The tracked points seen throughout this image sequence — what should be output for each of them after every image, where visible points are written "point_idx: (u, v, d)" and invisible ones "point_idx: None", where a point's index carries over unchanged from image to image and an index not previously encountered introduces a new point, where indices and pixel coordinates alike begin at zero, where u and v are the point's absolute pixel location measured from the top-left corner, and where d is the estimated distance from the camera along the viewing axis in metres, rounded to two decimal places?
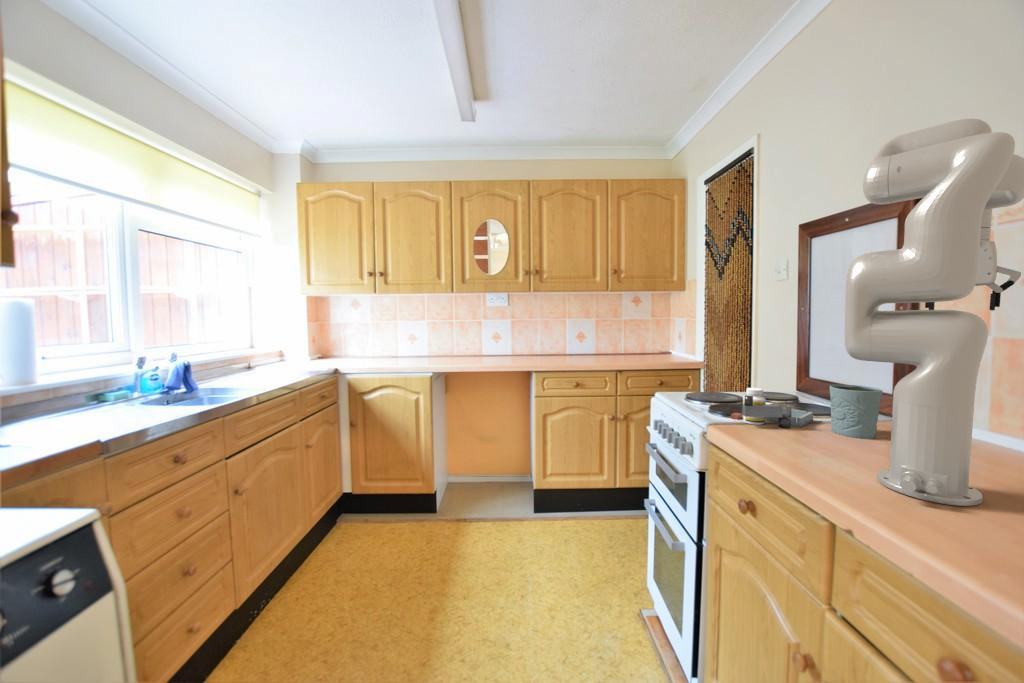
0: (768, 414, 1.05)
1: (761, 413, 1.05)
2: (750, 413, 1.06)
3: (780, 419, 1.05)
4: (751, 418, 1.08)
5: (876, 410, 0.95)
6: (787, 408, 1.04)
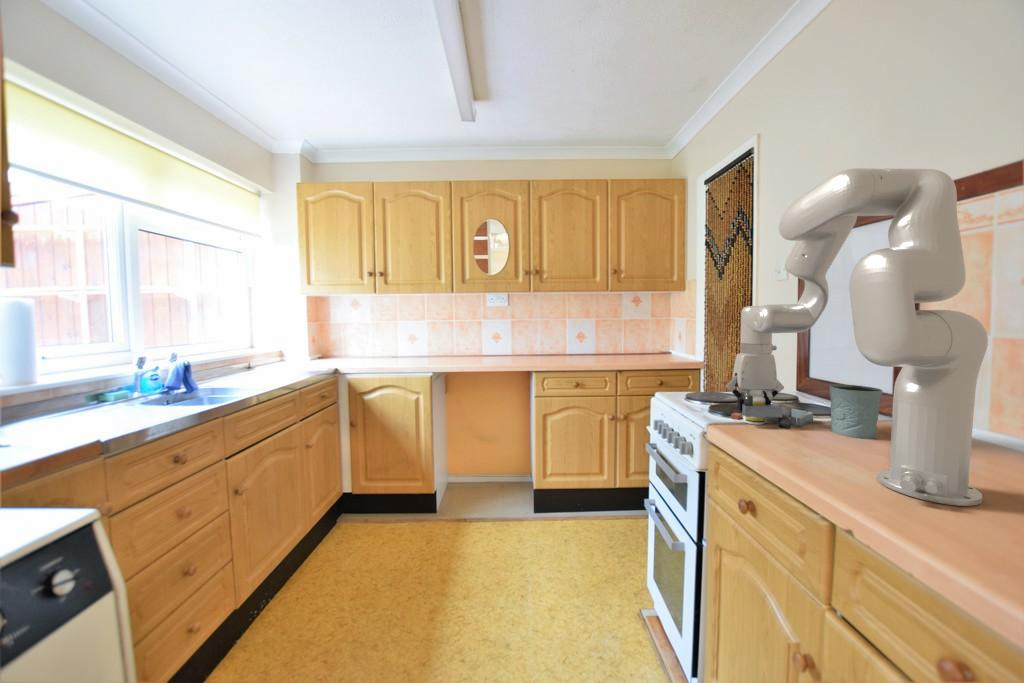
0: (768, 414, 1.05)
1: (761, 413, 1.05)
2: (750, 413, 1.06)
3: (780, 419, 1.05)
4: (751, 418, 1.08)
5: (876, 410, 0.95)
6: (787, 408, 1.04)
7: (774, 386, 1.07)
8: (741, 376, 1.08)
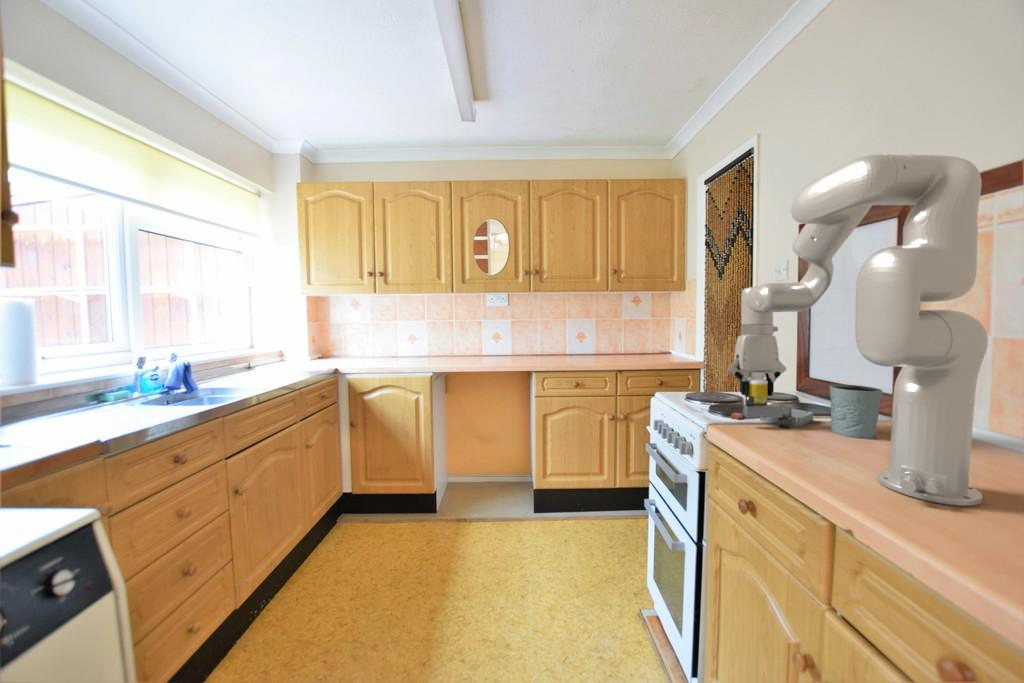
0: (769, 414, 1.05)
1: (762, 413, 1.05)
2: (751, 414, 1.05)
3: (780, 419, 1.05)
4: (754, 401, 1.07)
5: (876, 410, 0.95)
6: (787, 408, 1.04)
7: (776, 367, 1.06)
8: (743, 357, 1.07)
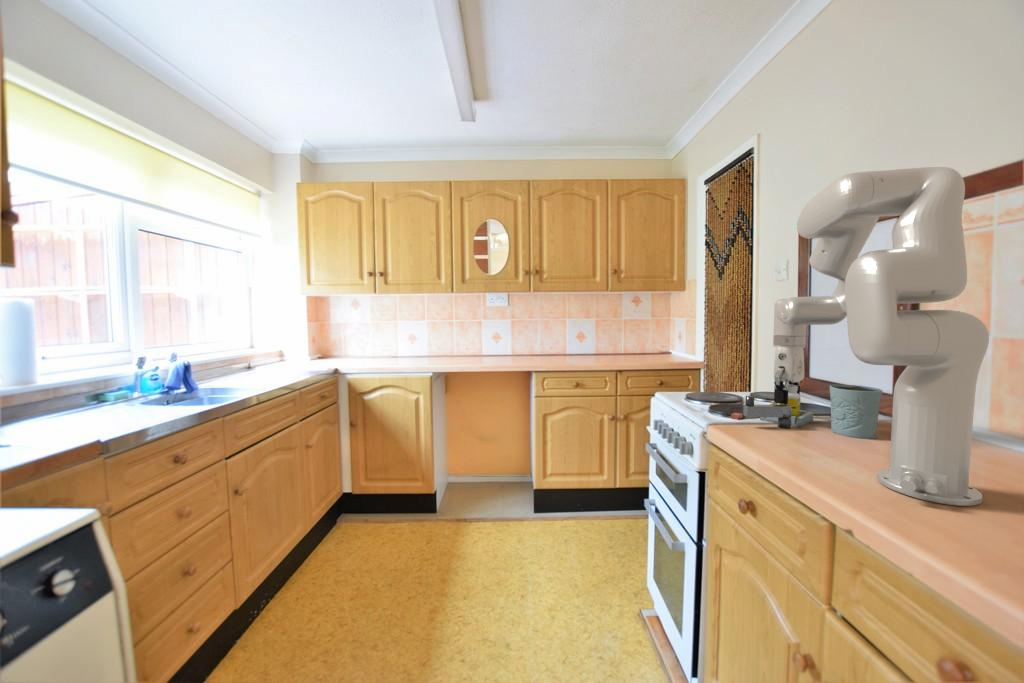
0: (769, 414, 1.05)
1: (762, 413, 1.05)
2: (751, 414, 1.05)
3: (780, 419, 1.05)
4: None
5: (876, 410, 0.95)
6: (787, 408, 1.04)
7: None
8: None
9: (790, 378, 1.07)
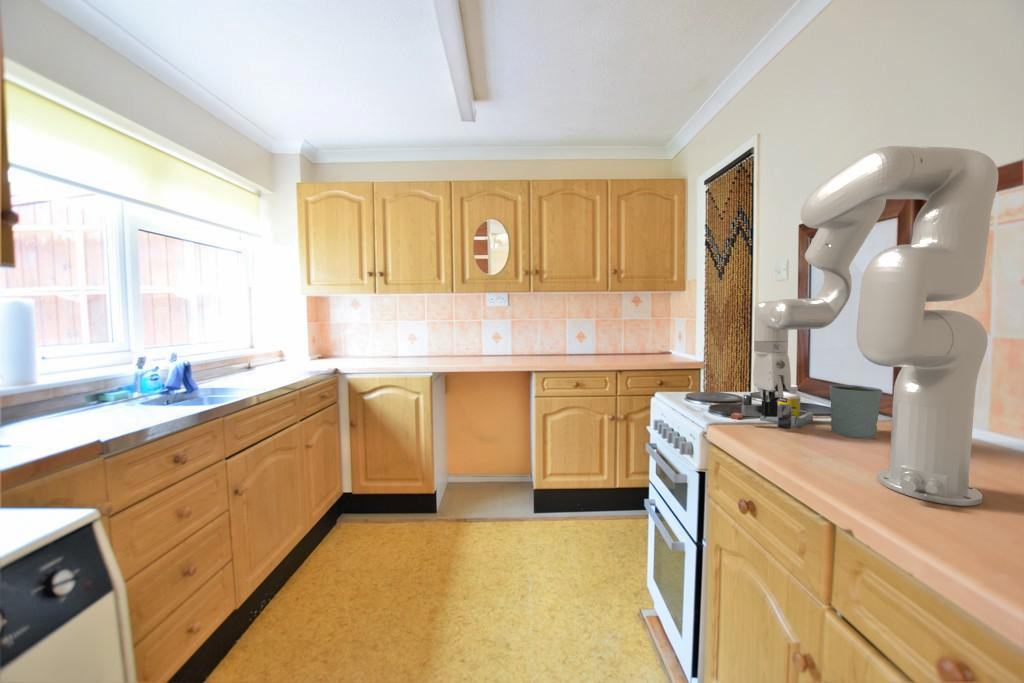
0: None
1: (760, 413, 1.06)
2: (749, 412, 1.06)
3: (780, 419, 1.05)
4: None
5: (876, 410, 0.95)
6: (787, 408, 1.04)
7: (770, 388, 0.99)
8: (753, 372, 1.08)
9: (789, 387, 0.98)
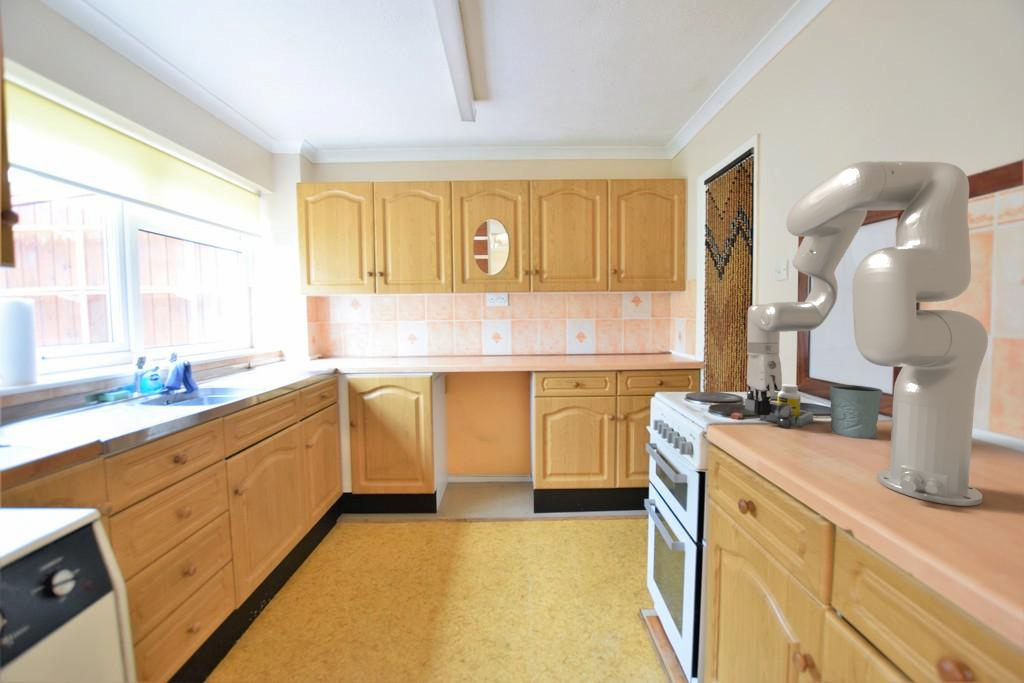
0: None
1: None
2: (749, 406, 1.13)
3: (780, 419, 1.05)
4: None
5: (876, 410, 0.95)
6: (781, 407, 1.05)
7: (762, 387, 1.04)
8: (747, 373, 1.12)
9: (780, 387, 1.02)
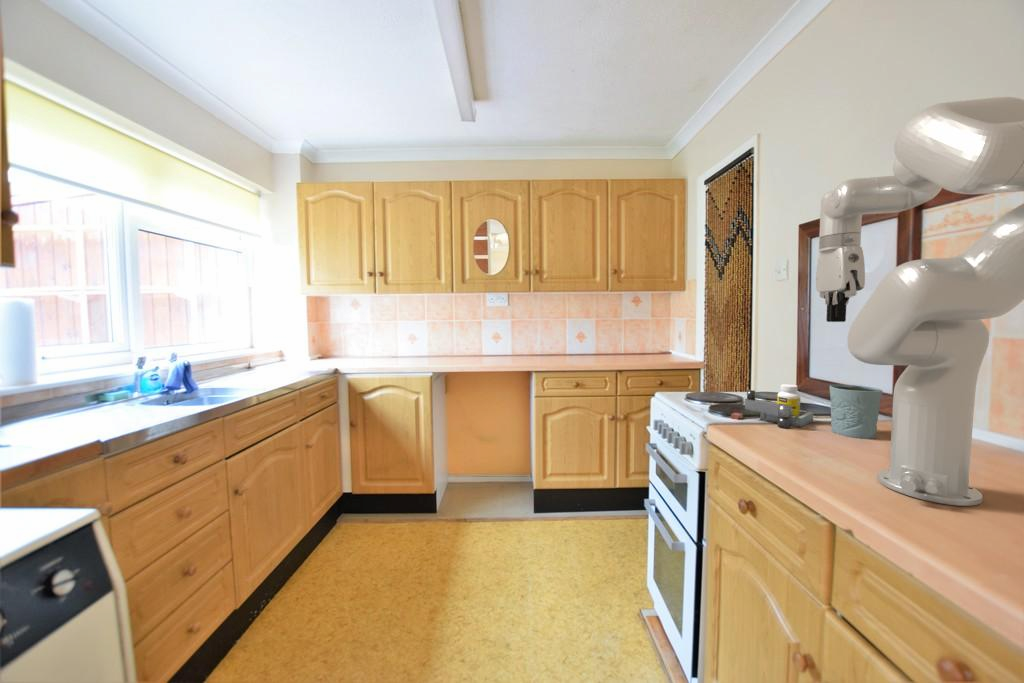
0: (765, 410, 1.09)
1: (758, 408, 1.11)
2: (749, 406, 1.13)
3: (780, 419, 1.05)
4: None
5: (876, 410, 0.95)
6: (781, 407, 1.05)
7: (840, 286, 0.88)
8: (816, 277, 0.96)
9: (863, 283, 0.87)
